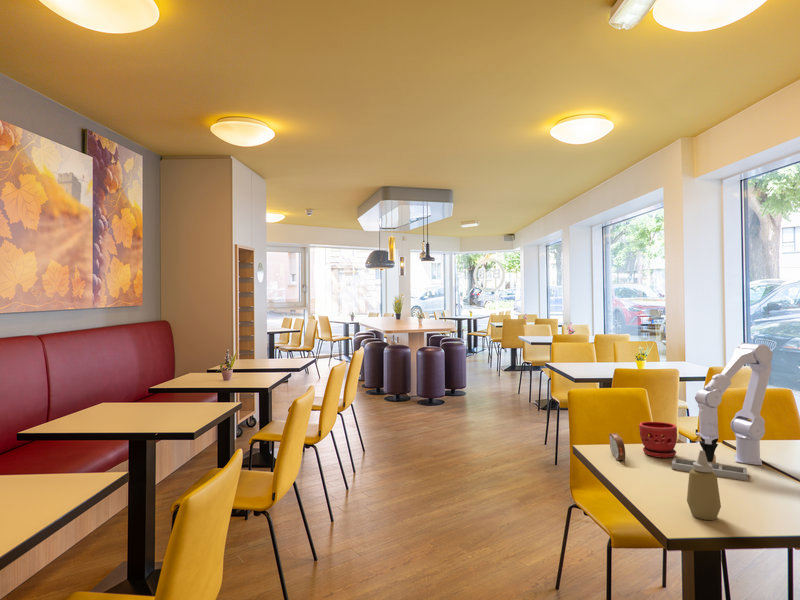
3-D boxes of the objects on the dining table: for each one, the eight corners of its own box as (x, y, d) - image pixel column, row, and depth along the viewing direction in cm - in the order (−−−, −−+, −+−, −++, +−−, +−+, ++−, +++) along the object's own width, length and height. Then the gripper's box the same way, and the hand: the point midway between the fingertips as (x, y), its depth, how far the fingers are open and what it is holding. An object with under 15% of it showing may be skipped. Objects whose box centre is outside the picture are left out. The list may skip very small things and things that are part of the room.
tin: (626, 463, 180) (626, 440, 180) (617, 463, 180) (616, 440, 180) (616, 451, 194) (616, 430, 194) (608, 451, 195) (608, 430, 195)
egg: (703, 461, 181) (702, 449, 182) (715, 462, 179) (715, 450, 179) (702, 463, 178) (702, 451, 178) (715, 465, 176) (715, 453, 176)
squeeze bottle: (680, 510, 137) (678, 447, 137) (707, 509, 138) (705, 446, 138) (700, 523, 129) (698, 455, 129) (728, 521, 129) (727, 454, 130)
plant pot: (678, 452, 192) (677, 422, 192) (676, 461, 181) (675, 429, 181) (641, 448, 199) (641, 419, 199) (638, 456, 188) (637, 425, 188)
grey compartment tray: (673, 463, 179) (673, 457, 179) (746, 473, 167) (746, 467, 167) (671, 469, 172) (671, 463, 173) (747, 480, 160) (747, 474, 160)
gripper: (696, 417, 187) (697, 452, 187) (694, 425, 175) (695, 462, 175) (718, 419, 183) (719, 455, 183) (718, 427, 171) (719, 466, 171)
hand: (709, 459), depth 179 cm, fingers open, 6 cm apart
